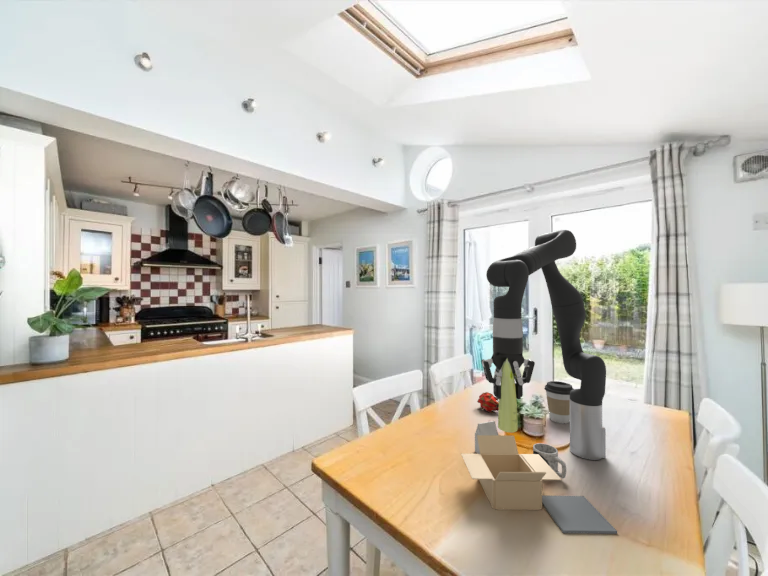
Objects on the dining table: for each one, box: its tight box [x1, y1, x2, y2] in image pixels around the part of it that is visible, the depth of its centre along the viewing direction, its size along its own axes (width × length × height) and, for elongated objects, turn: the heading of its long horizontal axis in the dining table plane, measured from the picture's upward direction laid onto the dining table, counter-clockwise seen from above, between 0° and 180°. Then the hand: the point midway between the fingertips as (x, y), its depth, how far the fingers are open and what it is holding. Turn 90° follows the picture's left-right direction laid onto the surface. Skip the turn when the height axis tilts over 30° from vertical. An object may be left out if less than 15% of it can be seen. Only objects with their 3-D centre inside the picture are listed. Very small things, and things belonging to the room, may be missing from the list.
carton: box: [460, 435, 563, 511], centre depth 84 cm, size 22×19×11 cm
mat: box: [542, 494, 618, 535], centre depth 76 cm, size 12×12×1 cm
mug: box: [532, 442, 567, 479], centre depth 93 cm, size 10×7×7 cm, turn 23°
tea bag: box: [474, 420, 500, 454], centre depth 105 cm, size 4×7×10 cm, turn 110°
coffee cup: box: [543, 380, 574, 424], centre depth 132 cm, size 11×11×15 cm
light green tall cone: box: [497, 358, 519, 434], centre depth 84 cm, size 6×5×20 cm
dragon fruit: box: [476, 391, 499, 414], centre depth 142 cm, size 8×8×12 cm
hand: (507, 397), depth 84 cm, fingers closed on light green tall cone, 4 cm apart
